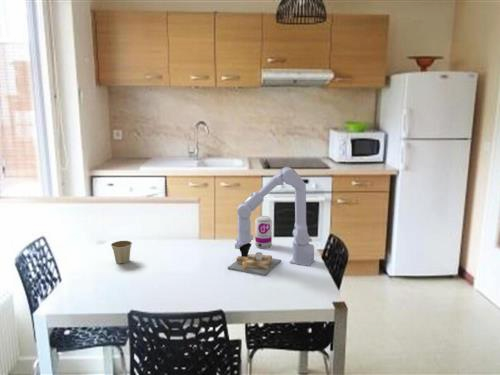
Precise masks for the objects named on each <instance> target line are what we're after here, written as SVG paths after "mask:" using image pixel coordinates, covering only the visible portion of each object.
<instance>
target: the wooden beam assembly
mask: <svg viewBox="0 0 500 375" xmlns="http://www.w3.org/2000/svg"><path fill="white" fill-rule="evenodd" d="M249 255H250V256H249V257H245V256H241V255H237V256H236V261H237V264H243V262H246V267H249V268H262V269H268V268H269V266H270V264H271V262H272V258H273V255H270V254H269V255H266V254H262V261H259V260H256V253H255V254H252V253H250V254H249Z"/></svg>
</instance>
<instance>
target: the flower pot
mask: <svg viewBox="0 0 500 375" xmlns="http://www.w3.org/2000/svg"><path fill="white" fill-rule="evenodd" d="M132 245H133V242H132V241H130V240H118V241H114V242H112V243H111V244H110V246H111V249H112V251H113V257H114V260H115V263H116V264H119V265H121V264H127V263H129V262H130V260H131V248H132Z"/></svg>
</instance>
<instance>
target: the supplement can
mask: <svg viewBox="0 0 500 375" xmlns="http://www.w3.org/2000/svg"><path fill="white" fill-rule="evenodd" d="M254 222H255V223H254V228H255V230H254V234H255V236H254V237H255V241H254V242H255V244H254V245H255V247H257V248H258V249H269V248H271V246H272V245H273V244H272V243H273V242H272V240H273V237H272V236H273V235H272V234H273V232H272V231H273V227H272V225H273V224H272V218H271V217H270V216H268V215H261V216H260V215H259V216H256V219H255V221H254Z"/></svg>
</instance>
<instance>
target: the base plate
mask: <svg viewBox="0 0 500 375" xmlns="http://www.w3.org/2000/svg"><path fill="white" fill-rule="evenodd" d="M255 254H256V260H259V261H262V255H263V252H260V251H258V252H255ZM249 256H250V254H249V253H248V257H249ZM281 262H282V260H281V259H280V258H279V259H278V258H273V257H272V262H271V264H270V266H269V268H268V269H262V268H249V267H246V262H243V264H237V260H236V261H234V262H233V263H232V264H230V265H229V266H228V267H227V270H230V271H236V272H240V273H245V274H252V275H256V276H263V277H266V276H267V275H268V274H270V272H272V271H273V270H274V269H275V268H276V267H277V266H278V265H279V264H280V263H281Z"/></svg>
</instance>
